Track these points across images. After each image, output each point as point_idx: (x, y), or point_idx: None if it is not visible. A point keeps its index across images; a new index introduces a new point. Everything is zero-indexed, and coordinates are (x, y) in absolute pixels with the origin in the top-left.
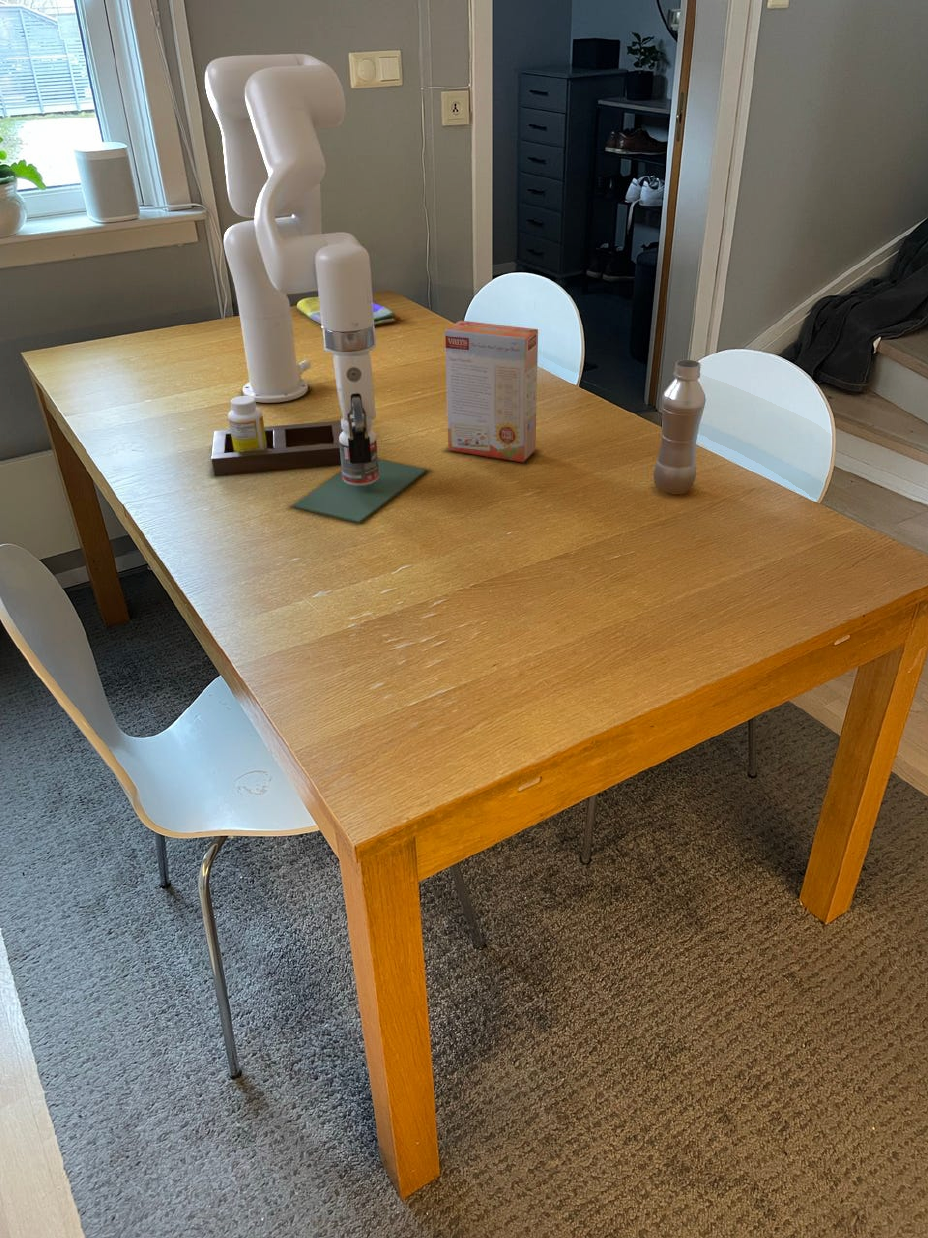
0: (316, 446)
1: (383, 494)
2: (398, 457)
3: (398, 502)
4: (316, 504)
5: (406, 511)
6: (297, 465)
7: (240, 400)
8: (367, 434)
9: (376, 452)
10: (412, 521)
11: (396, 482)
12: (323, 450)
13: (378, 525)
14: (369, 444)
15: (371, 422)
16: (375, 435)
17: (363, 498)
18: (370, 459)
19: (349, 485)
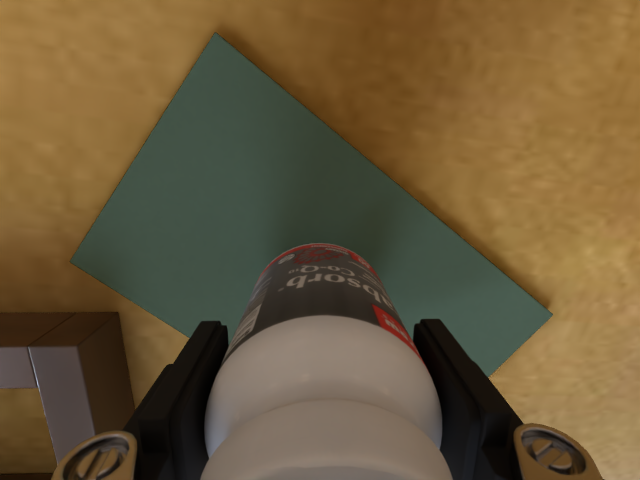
0: (67, 446)
1: (396, 227)
2: (69, 132)
3: (448, 181)
4: None
5: (521, 163)
6: None
7: None
8: (594, 468)
9: (358, 287)
10: (597, 152)
11: (314, 171)
12: (96, 422)
13: (578, 260)
14: (483, 378)
15: (380, 440)
16: (340, 330)
17: (409, 291)
18: (440, 324)
19: None
